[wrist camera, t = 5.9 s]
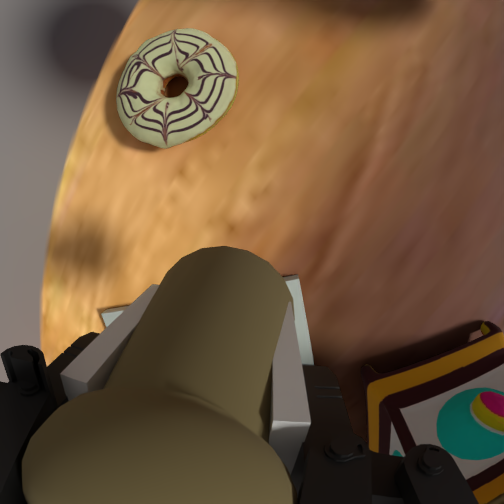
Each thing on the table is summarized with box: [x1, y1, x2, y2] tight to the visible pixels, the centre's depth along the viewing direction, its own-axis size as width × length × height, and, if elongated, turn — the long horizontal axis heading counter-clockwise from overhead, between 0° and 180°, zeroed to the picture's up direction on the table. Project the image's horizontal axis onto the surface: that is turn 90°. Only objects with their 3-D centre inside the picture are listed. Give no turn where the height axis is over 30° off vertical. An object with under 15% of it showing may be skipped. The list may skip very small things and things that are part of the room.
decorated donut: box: [116, 28, 239, 148], centre depth 22 cm, size 10×11×4 cm
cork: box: [22, 246, 298, 504], centre depth 7 cm, size 6×6×11 cm
